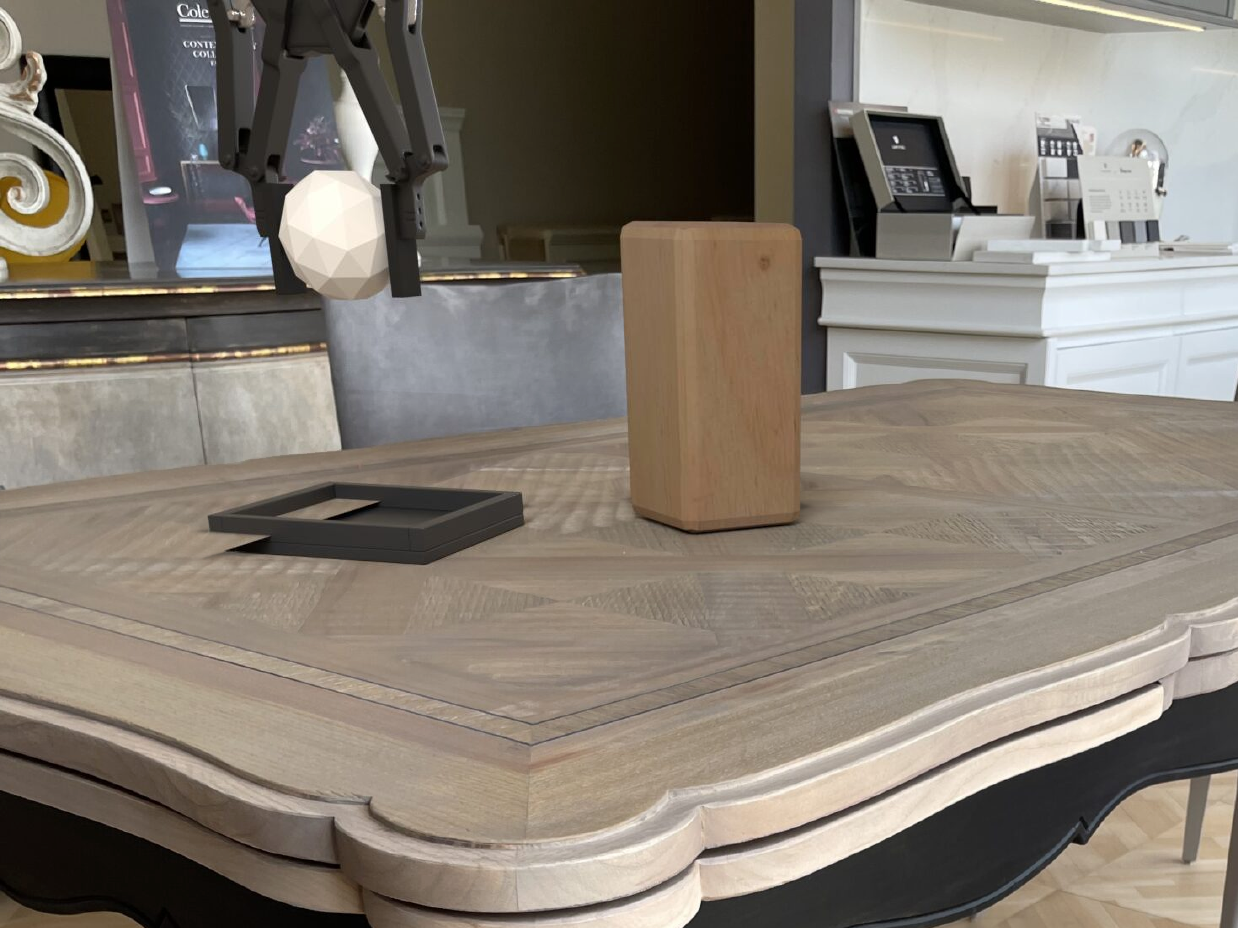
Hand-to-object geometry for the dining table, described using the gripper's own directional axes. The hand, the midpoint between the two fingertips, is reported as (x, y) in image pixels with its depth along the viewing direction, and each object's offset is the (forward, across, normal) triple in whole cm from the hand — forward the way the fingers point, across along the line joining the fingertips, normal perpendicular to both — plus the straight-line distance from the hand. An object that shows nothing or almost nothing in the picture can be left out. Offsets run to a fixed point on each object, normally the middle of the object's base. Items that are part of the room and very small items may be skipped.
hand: (349, 294), depth 106 cm
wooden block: (+16, -21, -14) cm, 30 cm away
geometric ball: (+1, 0, 0) cm, 1 cm away
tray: (+16, 0, 0) cm, 16 cm away
